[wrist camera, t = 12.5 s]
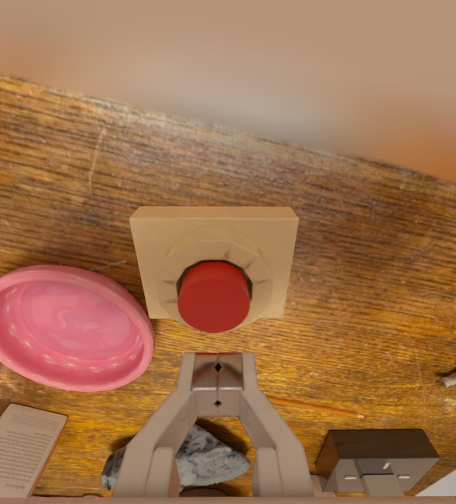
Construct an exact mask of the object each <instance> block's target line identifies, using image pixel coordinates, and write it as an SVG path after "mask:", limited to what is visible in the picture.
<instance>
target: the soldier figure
mask: <svg viewBox="0 0 456 504" xmlns="http://www.w3.org/2000/svg"><path fill="white" fill-rule="evenodd" d="M441 379H442V382H443V384H444V386H445V387H449V386H450V385H453V384H455V383H456V375H455V376H452V377H443V378H441Z"/></svg>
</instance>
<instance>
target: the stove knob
mask: <svg viewBox="0 0 456 504" xmlns="http://www.w3.org/2000/svg"><path fill="white" fill-rule="evenodd" d="M360 480H361V483H362V486H363V488H364V491H365V494H366V496H367V497H405V496H404V493H403V491H402V489H401V487H400V485H399V483H398V481H397V479H396V477H395V475H363V476H362V478H361V479H360Z"/></svg>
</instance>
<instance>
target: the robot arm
mask: <svg viewBox="0 0 456 504" xmlns="http://www.w3.org/2000/svg"><path fill="white" fill-rule="evenodd" d="M210 416H226V417H239V419H240V421H241V423H242V425H243V427H244V428H245V430H246V432H247V434H248V436H249V438H250V440H251V441H252V443H253V445H254V447H255V449H256V457H255V464H254V471H253V477H252V488H253V497H179V489H180V477H179V472H178V468H177V463H176V458H175V455H176V453H177V451H178V450H179V448H180V446H181V445H182V443H183V441H184V440H185V438H186V436H187V435H188V433H189V431H190V430H191V428H192V426H193V425H194V423H195V421H196V420H197V417H210ZM0 504H456V496H454V497H453V496H443V497H442V496H436V497H435V496H428V497H425V496H424V497H423V496H422V497H315V495H314V490H313V486H312V481H311V477H310V473H309V468H308V464H307V460H306V455H305V451H304V447H303V445H302V443H301V442H300V441H299V439H298V438H297V437H296V435H295V434H294V433H293V431H292V430H291V429H290V427H289V426H288V425H287V423H286V422H285V421H284V419H283V418H282V417H281V415H280V414H279V413H278V411H277V410H276V409H275V407H274V406H273V405H272V403H271V402H270V400H269V399H268V398H267V396H266V395H265V394H264V392H263V391H259V390H258V382H257V373H256V364H255V356H254V353H241V352H227V353H196V352H184V354H183V356H182V361H181V367H180V372H179V378H178V383H177V388H176V390H175V391H172V392H171V393H170V394H169V395H168V397H167V398H166V399H165V400H164V401H163V403H162V404H161V405H160V406H159V407H158V409H157V410H156V411H155V412H154V414H153V415H152V416H151V417H150V418H149V420H148V421H147V422H146V423H145V424H144V426H143V427H142V428H141V429H140V430H139V432H138V433H137V434H136V435H135V436H134V438H133V439H132V440H131V441H130V442H129V444H128V445H127V447H126V451H125V454H124V457H123V460H122V464H121V467H120V470H119V474H118V477H117V480H116V483H115V487H114V490H113V493H112V497H54V498H0Z"/></svg>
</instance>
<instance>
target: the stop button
mask: <svg viewBox="0 0 456 504" xmlns="http://www.w3.org/2000/svg"><path fill="white" fill-rule="evenodd" d="M249 309H250V301H249V293H248V286H247V281H246V279H245V277H244V275H243V274H242V272H241V271H239V270H238V269H237V268H236V267H234V266H233V265H231V264H228V263H225V262H221V261H208V262H203V263H200V264H198V265H196V266H194V267H193V268H192V269H190V270H189V271H188V272H187V274H186V275H185V277H184V279H183V282H182V286H181V290H180V294H179V298H178V311H179V313H180V315H181V317H182V319H183V320H184V321H185V322H186V323H187V324H188V325H190V326H191V327H193V328H195V329H197V330H200V331H203V332H209V333H219V332H225V331H229V330H231V329H233V328H235V327H237V326H239V325H240V324H241V323H242V322H243V321H244V320H245V318H246V317H247V315H248V313H249Z"/></svg>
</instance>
